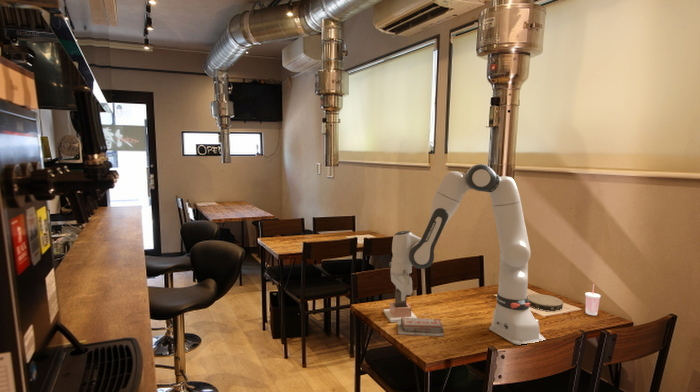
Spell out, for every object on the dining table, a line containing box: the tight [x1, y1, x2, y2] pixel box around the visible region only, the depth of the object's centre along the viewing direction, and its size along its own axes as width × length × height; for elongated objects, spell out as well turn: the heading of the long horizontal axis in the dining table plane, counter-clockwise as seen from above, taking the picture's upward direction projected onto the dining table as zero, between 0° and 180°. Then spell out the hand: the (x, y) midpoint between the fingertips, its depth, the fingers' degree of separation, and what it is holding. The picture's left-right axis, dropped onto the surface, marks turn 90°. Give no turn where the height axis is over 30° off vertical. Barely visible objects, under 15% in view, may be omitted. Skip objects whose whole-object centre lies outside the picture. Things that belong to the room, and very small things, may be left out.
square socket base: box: [383, 301, 418, 323], centre depth 182 cm, size 12×12×5 cm
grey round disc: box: [527, 293, 564, 312], centre depth 199 cm, size 16×16×3 cm
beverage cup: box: [584, 283, 602, 316], centre depth 188 cm, size 6×6×14 cm
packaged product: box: [397, 317, 445, 337], centre depth 168 cm, size 18×5×10 cm
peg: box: [394, 289, 408, 308], centre depth 181 cm, size 4×4×9 cm
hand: (400, 298), depth 181 cm, fingers closed on peg, 4 cm apart
